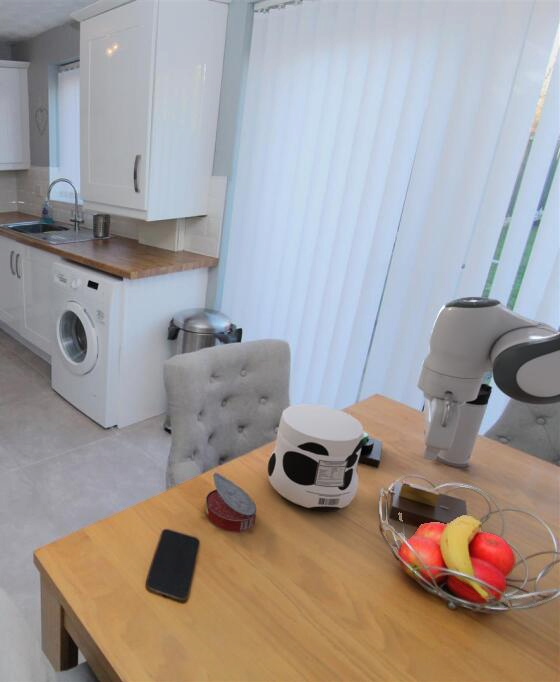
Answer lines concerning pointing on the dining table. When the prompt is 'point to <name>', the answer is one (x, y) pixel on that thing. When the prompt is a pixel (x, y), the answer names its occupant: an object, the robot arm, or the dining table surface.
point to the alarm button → (365, 437)
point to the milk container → (316, 457)
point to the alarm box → (371, 452)
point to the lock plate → (425, 509)
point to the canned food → (229, 506)
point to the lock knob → (419, 493)
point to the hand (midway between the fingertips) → (429, 446)
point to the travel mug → (466, 430)
